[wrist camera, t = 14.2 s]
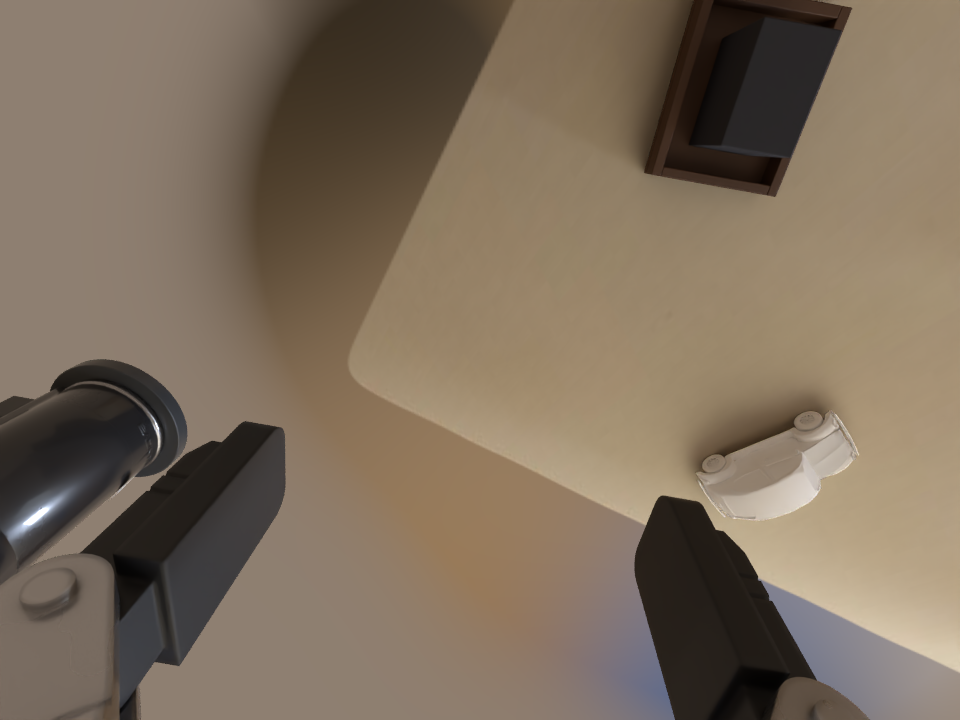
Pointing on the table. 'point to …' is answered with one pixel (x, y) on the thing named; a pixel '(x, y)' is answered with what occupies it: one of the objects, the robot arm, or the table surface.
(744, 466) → the car
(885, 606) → the table surface
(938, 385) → the table surface
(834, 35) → the black rectangular block
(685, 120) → the tray
